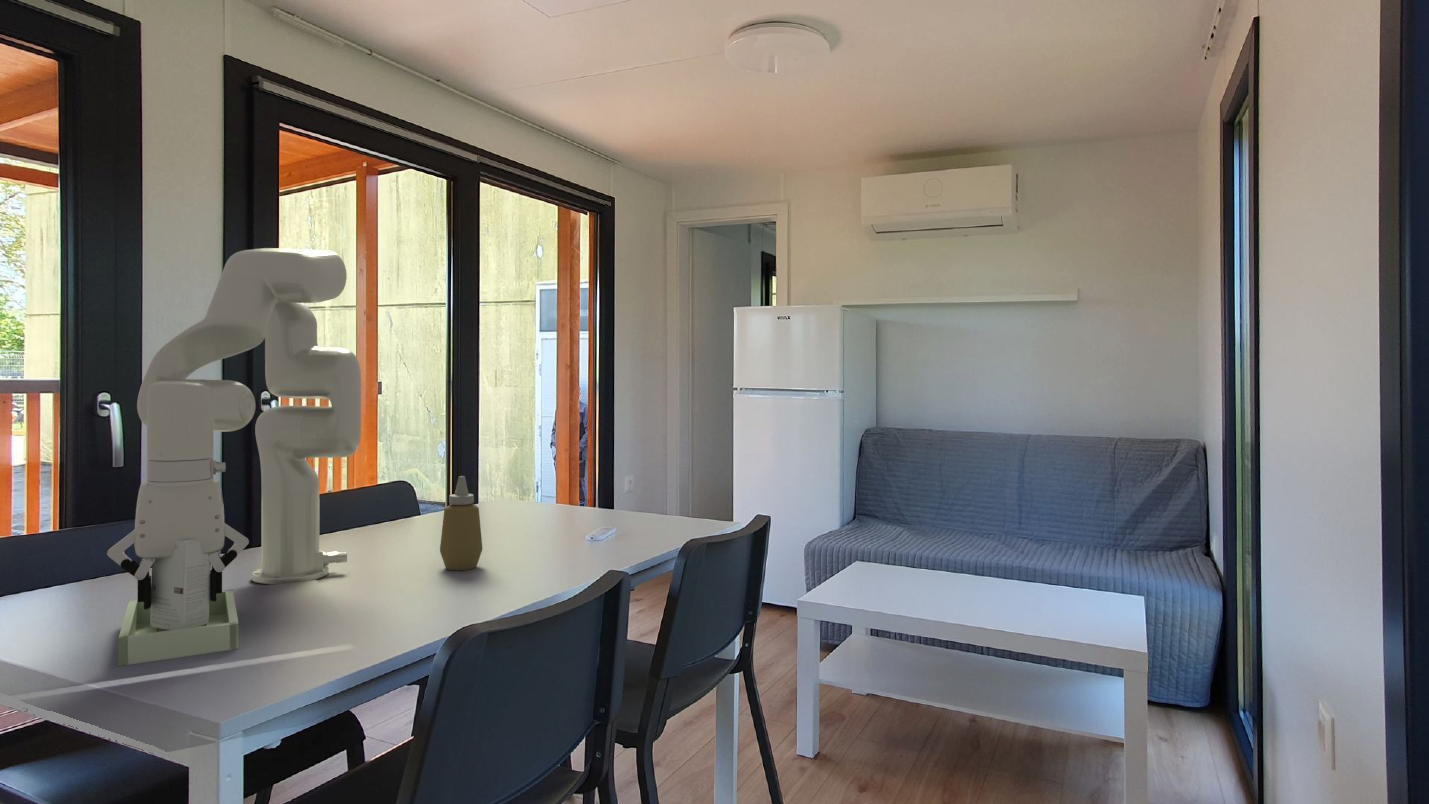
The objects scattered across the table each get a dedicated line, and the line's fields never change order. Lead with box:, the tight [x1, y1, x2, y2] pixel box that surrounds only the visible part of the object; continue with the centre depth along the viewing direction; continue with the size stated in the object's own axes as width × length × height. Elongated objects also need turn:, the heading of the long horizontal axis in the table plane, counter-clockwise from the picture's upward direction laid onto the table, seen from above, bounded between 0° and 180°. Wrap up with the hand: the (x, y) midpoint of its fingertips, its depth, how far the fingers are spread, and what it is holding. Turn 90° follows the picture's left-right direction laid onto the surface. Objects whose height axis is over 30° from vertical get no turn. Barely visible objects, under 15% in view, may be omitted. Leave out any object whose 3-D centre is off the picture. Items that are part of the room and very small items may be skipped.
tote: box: [117, 589, 240, 667], centre depth 112 cm, size 13×20×4 cm, turn 33°
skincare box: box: [150, 539, 212, 630], centre depth 109 cm, size 6×4×12 cm
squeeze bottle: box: [439, 475, 483, 571], centre depth 157 cm, size 8×8×18 cm
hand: (180, 601), depth 109 cm, fingers closed on skincare box, 6 cm apart
